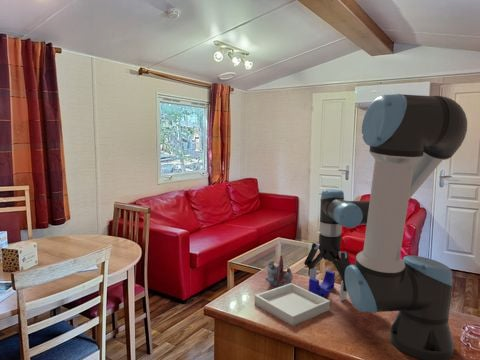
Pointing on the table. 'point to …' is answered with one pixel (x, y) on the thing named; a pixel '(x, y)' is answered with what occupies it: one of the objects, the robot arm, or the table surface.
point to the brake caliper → (278, 274)
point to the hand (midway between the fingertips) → (327, 292)
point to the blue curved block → (322, 284)
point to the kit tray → (292, 303)
